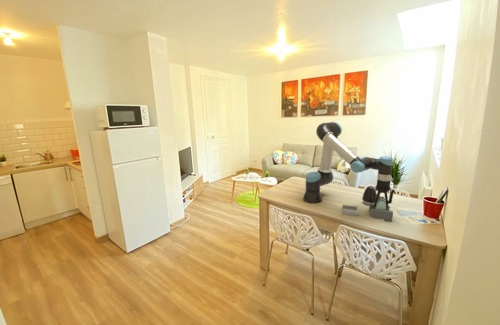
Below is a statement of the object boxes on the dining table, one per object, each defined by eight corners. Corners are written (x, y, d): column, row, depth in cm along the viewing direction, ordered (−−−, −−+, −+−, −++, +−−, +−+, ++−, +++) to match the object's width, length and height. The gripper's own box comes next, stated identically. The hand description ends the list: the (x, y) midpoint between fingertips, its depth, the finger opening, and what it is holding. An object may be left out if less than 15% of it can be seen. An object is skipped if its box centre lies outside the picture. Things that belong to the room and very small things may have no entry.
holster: (342, 215, 148) (343, 210, 147) (342, 209, 157) (342, 204, 156) (358, 217, 144) (358, 212, 143) (356, 210, 153) (357, 205, 152)
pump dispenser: (371, 208, 156) (373, 189, 153) (359, 203, 165) (360, 185, 162) (379, 205, 161) (381, 186, 157) (367, 200, 170) (368, 183, 166)
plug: (377, 214, 143) (379, 198, 140) (376, 211, 147) (377, 195, 144) (384, 215, 141) (386, 199, 138) (382, 212, 146) (384, 196, 143)
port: (371, 218, 141) (372, 209, 140) (368, 211, 152) (369, 202, 151) (392, 221, 137) (393, 211, 135) (387, 213, 148) (388, 204, 146)
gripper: (370, 180, 138) (367, 212, 144) (400, 182, 132) (396, 215, 137) (368, 177, 145) (365, 207, 150) (397, 178, 139) (393, 210, 144)
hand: (380, 211), depth 144 cm, fingers closed on plug, 4 cm apart
